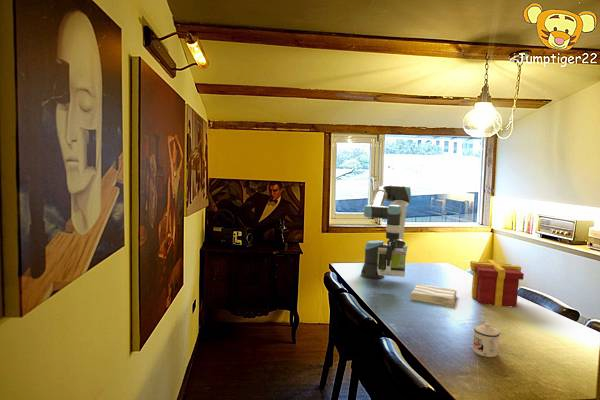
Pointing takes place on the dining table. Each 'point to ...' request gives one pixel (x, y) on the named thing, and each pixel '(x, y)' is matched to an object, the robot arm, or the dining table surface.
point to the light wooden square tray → (434, 295)
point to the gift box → (495, 283)
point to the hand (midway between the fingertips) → (390, 268)
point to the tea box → (396, 261)
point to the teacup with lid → (486, 340)
